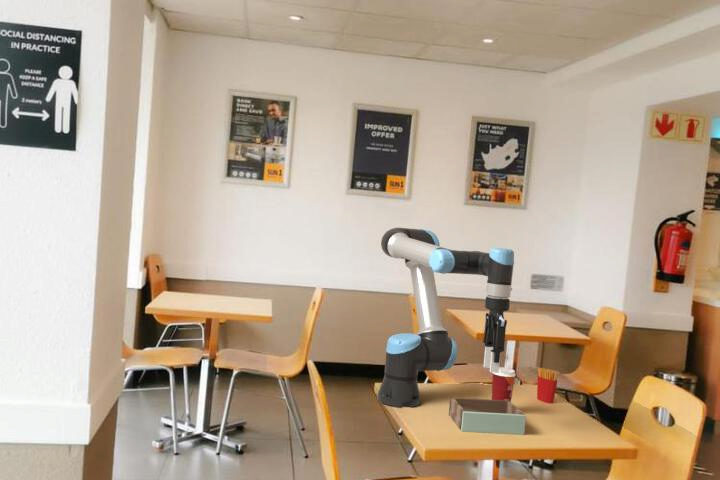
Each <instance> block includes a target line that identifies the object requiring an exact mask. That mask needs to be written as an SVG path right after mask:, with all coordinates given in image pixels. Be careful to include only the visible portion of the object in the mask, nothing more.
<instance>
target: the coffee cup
mask: <svg viewBox="0 0 720 480" xmlns="http://www.w3.org/2000/svg"><path fill="white" fill-rule="evenodd" d="M516 376H517V375H516V371H515V370H514V369H511V368H510V367H509V368H508V367H502V366H499V373H492V384H491V400H505V401H510V402H511V403H512V396H513V390H514V385H515V377H516Z"/></svg>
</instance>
